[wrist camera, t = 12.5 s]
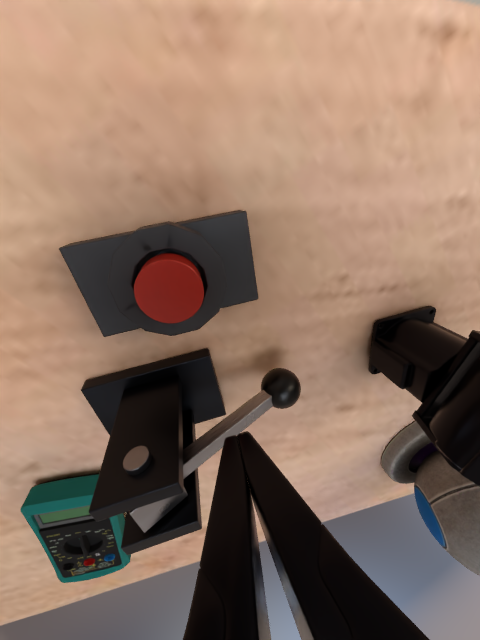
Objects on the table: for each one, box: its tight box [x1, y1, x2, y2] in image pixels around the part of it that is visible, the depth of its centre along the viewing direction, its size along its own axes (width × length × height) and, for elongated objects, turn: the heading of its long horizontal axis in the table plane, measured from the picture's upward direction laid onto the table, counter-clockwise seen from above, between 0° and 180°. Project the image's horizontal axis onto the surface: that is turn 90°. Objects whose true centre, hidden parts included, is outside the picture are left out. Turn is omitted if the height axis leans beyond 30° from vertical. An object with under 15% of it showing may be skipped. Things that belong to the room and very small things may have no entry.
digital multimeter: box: [21, 474, 131, 583], centre depth 25 cm, size 7×15×3 cm, turn 175°
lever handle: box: [129, 368, 301, 533], centre depth 17 cm, size 14×3×3 cm, turn 99°
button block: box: [59, 210, 258, 337], centre depth 16 cm, size 11×6×4 cm, turn 99°
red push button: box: [134, 253, 204, 323], centre depth 14 cm, size 4×4×2 cm
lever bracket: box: [81, 348, 226, 555], centre depth 17 cm, size 10×7×10 cm
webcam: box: [381, 421, 480, 576], centre depth 29 cm, size 13×13×15 cm
